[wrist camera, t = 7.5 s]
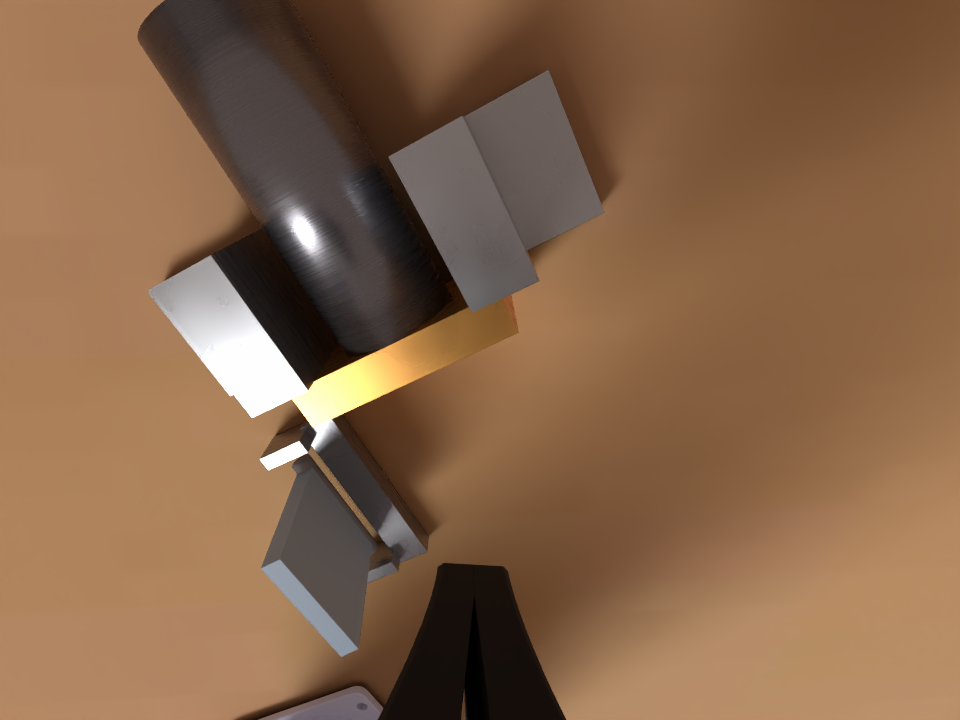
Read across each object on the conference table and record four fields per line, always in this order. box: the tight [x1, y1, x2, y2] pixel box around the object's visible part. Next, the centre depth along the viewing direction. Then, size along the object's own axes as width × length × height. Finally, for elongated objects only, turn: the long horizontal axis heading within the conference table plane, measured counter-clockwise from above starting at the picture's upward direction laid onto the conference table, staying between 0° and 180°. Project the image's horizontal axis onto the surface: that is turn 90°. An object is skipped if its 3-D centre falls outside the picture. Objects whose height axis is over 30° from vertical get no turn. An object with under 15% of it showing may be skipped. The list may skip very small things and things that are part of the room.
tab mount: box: [260, 414, 429, 583], centre depth 19 cm, size 7×3×1 cm, turn 27°
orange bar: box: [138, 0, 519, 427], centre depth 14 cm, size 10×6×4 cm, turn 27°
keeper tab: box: [261, 454, 378, 657], centre depth 17 cm, size 5×1×5 cm, turn 27°
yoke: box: [148, 70, 605, 418], centre depth 14 cm, size 4×13×4 cm, turn 116°
